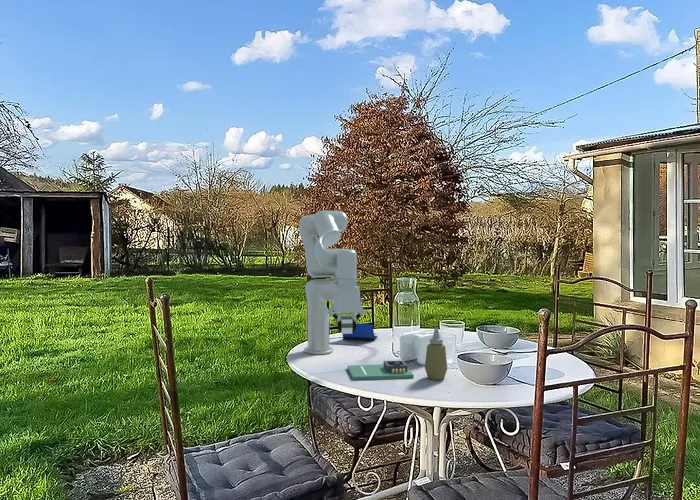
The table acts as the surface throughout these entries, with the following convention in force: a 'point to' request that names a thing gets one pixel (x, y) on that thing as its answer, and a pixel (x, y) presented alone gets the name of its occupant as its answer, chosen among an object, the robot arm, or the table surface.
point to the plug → (346, 324)
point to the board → (380, 371)
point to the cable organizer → (415, 346)
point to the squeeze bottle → (436, 358)
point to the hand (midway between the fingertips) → (346, 331)
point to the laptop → (361, 333)
